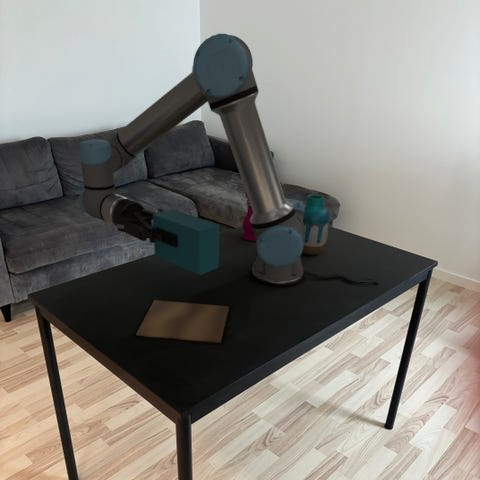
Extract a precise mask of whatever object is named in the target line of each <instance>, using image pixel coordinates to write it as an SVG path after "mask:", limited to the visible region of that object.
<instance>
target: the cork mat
mask: <svg viewBox="0 0 480 480" xmlns="http://www.w3.org/2000/svg"><path fill="white" fill-rule="evenodd" d="M229 311H230V306H229V305H218V304H217V305H216V304H206V303H205V304H204V303H192V302H181V301H171V300H170V301H169V300H157V299H154V300H153V302H152V303H151V305H150V307H149V309H148V311H147V313H146V314H145V316H144V318H143V320H142V322H141V324H140V326H139V327H138V329H137V331H136V333H135V336H138V337H148V338H158V339H169V340H180V341H181V340H182V341H192V342H205V343H215V344H221V343H222V339H223V335H224V331H225V327H226V322H227V318H228V315H229Z"/></svg>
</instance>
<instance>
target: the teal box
mask: <svg viewBox="0 0 480 480" xmlns="http://www.w3.org/2000/svg"><path fill="white" fill-rule="evenodd" d="M155 213H156V214H153V220H151V223H152V227H153V228H154V230H155V228H161V229H163V230H166V231H168V232H171V233H173V234H176V235H177V237H178V247H176V248H175V247H173V246H170V245H168V244H165V243H163V242H160V241H158V240H155V242H154V243H153V244H154V256H155V257H156V258H157V257H158V258H159V259H162V260H164V261H166V262H168V263H170V264H172V265H175V266H177V267H180V268H182V269H184V270H187V271H189V272H191V273H193V274H196V275H198V276H201V275H204V274H206V273H209V272H211V271H214V270H216V269H219V267H220V224H217V223H215V222H211V221H209V220H207V219H203V218H200V217H199V216H198V217H197V216H195V215H191V214H189V213H186V212H183V211H181V210H177V209H174V208H172V209H168V210H164V212H160V213H157V212H155ZM155 231H156V230H155Z"/></svg>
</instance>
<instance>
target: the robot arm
mask: <svg viewBox="0 0 480 480" xmlns="http://www.w3.org/2000/svg"><path fill="white" fill-rule="evenodd" d="M253 61H254V60H253V55H252V51H251V50H250V48H249V46H248V45H247V44H246V42H245V41H244V40H243V39H241V38H240V37H238V36H235V35H232V34H228V33H217V34H214V35H211V36H209V37H208V38H206V39H205V40H204V41H202V43H200V44H199V46H198V48H197V49H196V51H195V54H194V55H193V61H192V66H191V67H192V68H191V72H190V73H189V74H188V75H186V76H185V77H184V78H183V79H182V80H181V81H179V82H178V83H176V84H175V85H174V86H173V87H172V88H171V89H169V90H168V91H167V92H166V93H165V94H163V95H162V96H161V97H160V98H159V99H157V100H156V101H154V102H153V103H152V104H151V105H150V106H148V107H147V108H146V109H145V110H144V111H142V112H140V113H139V115H137V116H136V117H135V118H134V119H133V120H131V121H130V122H129V123H128V124H126V125H125V126H124V127H123V128H121V129H120V130H119V131H117V132H116V134H114V135H113V136H112V137H110V138H109V139H107V140H105V139H98V138H97V139H87V140H86V139H85V140H83V141H81V142H80V143H79V160H80V165H81V172H82V173H81V174H82V177H83V178H82V179H83V188H82V189H81V191H80V192H79V195H78V199H77V201H78V205H79V207H80V209H81V211H82V212H84V213H85V214H87V215H89V216H90V217H92V218H94V219H99V220H100V221H104V222H106V223H108V224H111V225H113V226H116V227H117V231H118V232H120V233H121V232H123V233H125V234H127V235H129V236H132V237H134V238H135V239H138V240H139V241H142V242H146V241H147V240H149V243H150V244H154V242H155V240H158V241H160V242H163V243H165V244H168V245H170V246H173V247H175V248H176V247H178V237H177V235H176V234H173V233H171V232H168V231H166V230H163V229H161V228H155V230H156V231H155V230H154V228H153V227H152V223H151V220H153V214H156V213H160V212H164V211H165V209H163V208H158V209H157V212H155V211H152V210H148V209H145V207H144V206H143V205H142V204H141V203H140V202H139V201H136V200H134V199H131V198H129V197H126V196H123V195H121V194H117V193H116V188H115V187H116V186H115V175H114V174H115V173H117V172H118V171H119V170H120V169H123V168H124V167H126V166H127V165H128V164H129V163H130V162H131V161H133V160H134V159H136V158H137V156H139V155H140V154H141V153H143V152H144V151H145V150H146V149H148V148H149V147H151V146H152V145H153V144H154V143H156V142H157V141H159V140H160V139H161V138H162V137H163V136H165V135H166V134H167V133H169V132H170V131H171V130H172V129H175V127H177V126H178V125H179V124H180V123H182V122H183V121H185V119H187V118H188V117H190V116H191V115H192V114H193V113H195V112H196V111H197V110H199V109H200V108H201V107H202V106H204V105H205V104H207V103H208V106H209V109H210V112H212V113H215V114H216V115H218V116H219V118H220V121H221V123H222V126H223V129H224V132H225V135H226V138H227V142H228V143H229V147H230V150H231V152H232V155H233V158H234V161H235V164H236V167H237V170H238V173H239V175H240V178H241V181H242V184H243V187H244V190H245V194H246V193H247V196H248V199H249V202H250V204H251V207H252V210H253V214H252V216H251V218H250V223H251V226H252V229H253V231H254V234H255V237H256V240H257V241H255V249H256V253H257V255H256V257H255V259H254V261H253V262H254V263H253V266H252V270H251V271H252V272H251V275H252V277H253V278H254V279H255V280H256V281H257V282H259V283H262V284H264V285H268V286H273V287H288V286H294V285H296V284H297V285H298V283H301V282H302V281H303V277H304V275H307V276H311V277H314V278H315V279H316V278H317V279H320V280H330V279H335V278H336V279H342V280H344V281H346V282H348V283H352V284H354V285H355V284H358V285H359V284H365V283H367V282H357V281H358V280H355V281H352V280H353V279H351V280H349V279H350V278H349V279H347V278H348V277H347V278H345V277H346V276H345V277H343V276H344V275H342V276H338V275H339V274H331V275H326V276H325V275H319V274H316V273H313V272H309V271H305V270H304V267H303V263H302V259H301V256H302V254H303V253H302V250H303V246H304V241H303V216H304V213H305V211H304V206H305V204H304V203H305V202H303V201H302V200H298V199H294V198H286V197H285V194H284V190H283V188H282V185H281V180H280V179H279V175H278V172H277V169H276V168H277V167H276V165H275V161H274V158H273V155H272V152H271V149H270V146H269V143H268V140H267V136H266V133H265V130H264V126H263V124H262V120H261V117H260V114H259V110H258V106H257V104H256V100H257V98H258V95H259V93H260V91H259V88H258V84H257V81H256V78H255V74H254V70H253V65H254V64H253V63H254V62H253ZM248 199H247V200H248ZM365 280H372V278H367V279H365ZM375 281H376V282H372V283H373V284H374V285H376V286H380V284H379V282H378V281H377V280H375Z"/></svg>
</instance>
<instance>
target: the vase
mask: <svg viewBox="0 0 480 480" xmlns="http://www.w3.org/2000/svg"><path fill="white" fill-rule="evenodd" d="M304 211H305V213H304V216H303V241H304V246H303V250H302V253H301V254H304V255H309V256H312V255H313V256H314V255H318V254H320V253H321V252H323V250H324V249H325V247H326V244H327V240H328V236H329V235H328V234H329V226H330V212H329V210H328V209H327V208H326V207H325V196H324V195H322V194H317V193H310V194H308V195H307V196H306V201H305V204H304Z"/></svg>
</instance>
